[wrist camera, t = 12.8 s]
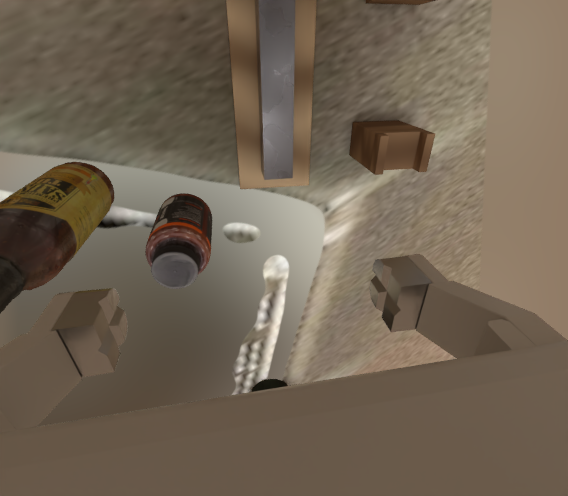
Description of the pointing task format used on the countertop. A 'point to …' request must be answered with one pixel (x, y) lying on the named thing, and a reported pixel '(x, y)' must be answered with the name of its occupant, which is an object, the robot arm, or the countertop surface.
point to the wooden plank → (247, 92)
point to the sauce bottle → (49, 225)
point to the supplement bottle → (180, 241)
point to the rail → (276, 85)
